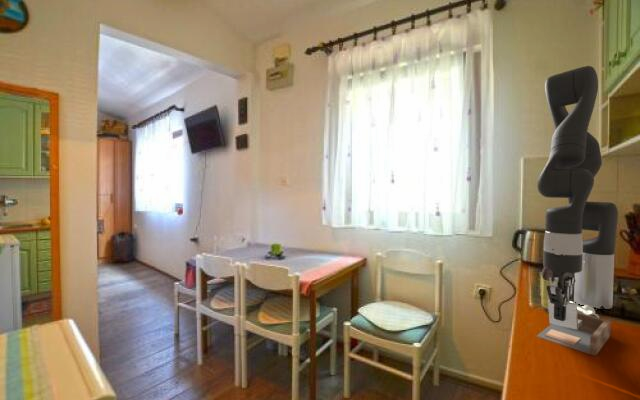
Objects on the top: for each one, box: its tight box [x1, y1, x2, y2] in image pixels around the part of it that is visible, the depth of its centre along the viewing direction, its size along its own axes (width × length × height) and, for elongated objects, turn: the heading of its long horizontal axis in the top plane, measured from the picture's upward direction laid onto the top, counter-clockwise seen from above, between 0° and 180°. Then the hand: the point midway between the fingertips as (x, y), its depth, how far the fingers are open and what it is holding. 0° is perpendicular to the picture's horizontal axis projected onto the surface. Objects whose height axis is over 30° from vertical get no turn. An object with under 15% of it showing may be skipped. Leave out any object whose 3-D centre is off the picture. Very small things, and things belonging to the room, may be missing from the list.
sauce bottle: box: [540, 266, 552, 314], centre depth 92 cm, size 7×6×20 cm
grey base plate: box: [536, 323, 596, 357], centre depth 78 cm, size 14×11×1 cm
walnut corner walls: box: [577, 313, 612, 357], centre depth 77 cm, size 14×11×4 cm
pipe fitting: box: [570, 301, 600, 318], centre depth 88 cm, size 8×4×7 cm
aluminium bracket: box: [548, 299, 582, 330], centre depth 76 cm, size 6×4×6 cm
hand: (560, 318), depth 76 cm, fingers closed on aluminium bracket, 1 cm apart
